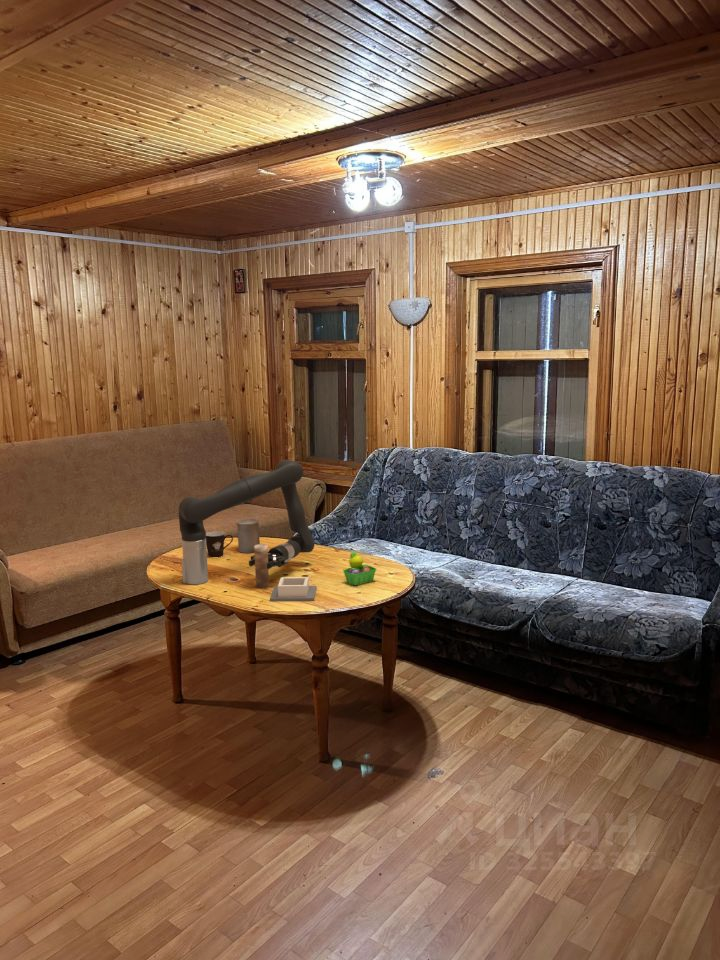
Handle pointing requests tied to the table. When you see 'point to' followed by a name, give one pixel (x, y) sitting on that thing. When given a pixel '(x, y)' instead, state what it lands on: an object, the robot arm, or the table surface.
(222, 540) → the coffee mug
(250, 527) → the pillar candle
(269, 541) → the table surface
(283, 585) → the post well
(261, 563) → the walnut post
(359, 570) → the fruit basket
